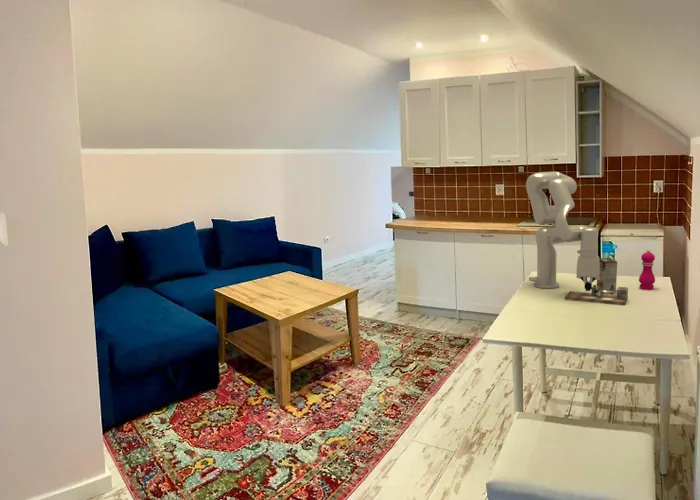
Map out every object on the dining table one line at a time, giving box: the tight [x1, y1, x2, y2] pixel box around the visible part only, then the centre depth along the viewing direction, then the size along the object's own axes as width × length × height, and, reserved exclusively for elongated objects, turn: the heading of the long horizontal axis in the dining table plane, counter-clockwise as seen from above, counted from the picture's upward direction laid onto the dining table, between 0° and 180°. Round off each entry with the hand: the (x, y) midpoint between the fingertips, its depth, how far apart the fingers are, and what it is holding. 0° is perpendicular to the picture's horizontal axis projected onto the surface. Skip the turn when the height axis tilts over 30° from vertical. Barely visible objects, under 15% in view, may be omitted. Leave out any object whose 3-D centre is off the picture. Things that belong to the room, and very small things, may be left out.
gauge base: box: [564, 286, 629, 306], centre depth 261 cm, size 26×11×6 cm, turn 57°
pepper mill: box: [638, 248, 656, 291], centre depth 273 cm, size 7×7×20 cm
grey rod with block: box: [590, 284, 615, 296], centre depth 260 cm, size 9×8×4 cm
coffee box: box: [596, 257, 618, 294], centre depth 273 cm, size 9×6×16 cm
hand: (588, 290), depth 264 cm, fingers closed
